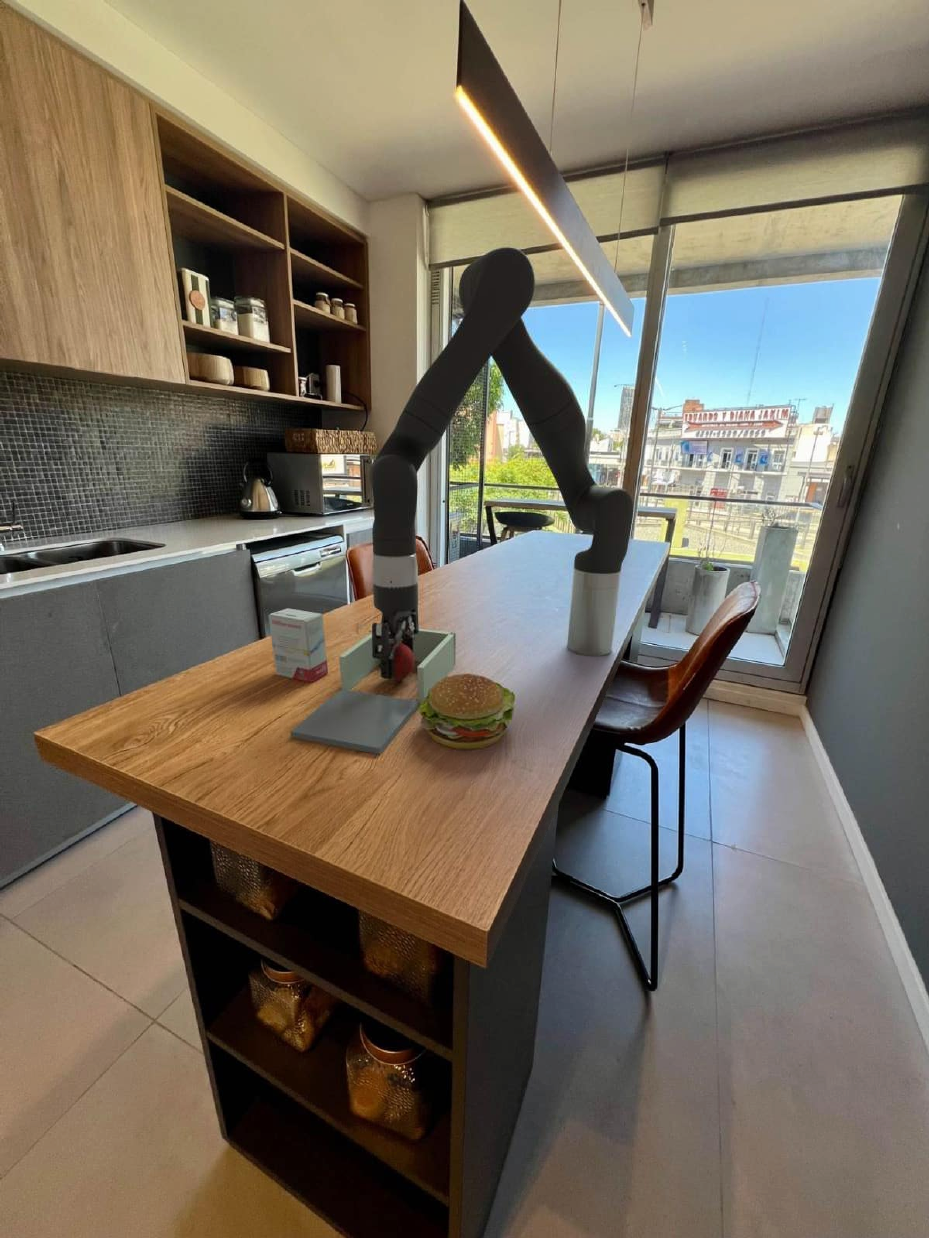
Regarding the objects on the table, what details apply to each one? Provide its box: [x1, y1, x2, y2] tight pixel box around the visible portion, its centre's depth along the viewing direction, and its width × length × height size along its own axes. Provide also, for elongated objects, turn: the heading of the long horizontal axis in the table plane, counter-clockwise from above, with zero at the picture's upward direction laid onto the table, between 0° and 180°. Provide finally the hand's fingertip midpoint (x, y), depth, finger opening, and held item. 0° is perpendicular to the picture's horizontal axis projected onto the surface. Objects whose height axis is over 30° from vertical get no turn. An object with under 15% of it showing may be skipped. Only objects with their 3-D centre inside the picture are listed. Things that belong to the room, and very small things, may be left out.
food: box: [416, 673, 516, 750], centre depth 71 cm, size 14×14×8 cm
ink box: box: [268, 607, 329, 683], centre depth 88 cm, size 9×5×12 cm, turn 65°
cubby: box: [338, 628, 457, 705], centre depth 88 cm, size 17×15×6 cm
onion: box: [389, 640, 416, 682], centre depth 87 cm, size 6×6×8 cm
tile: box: [289, 688, 420, 756], centre depth 74 cm, size 14×14×1 cm
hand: (397, 668), depth 87 cm, fingers open, 8 cm apart
